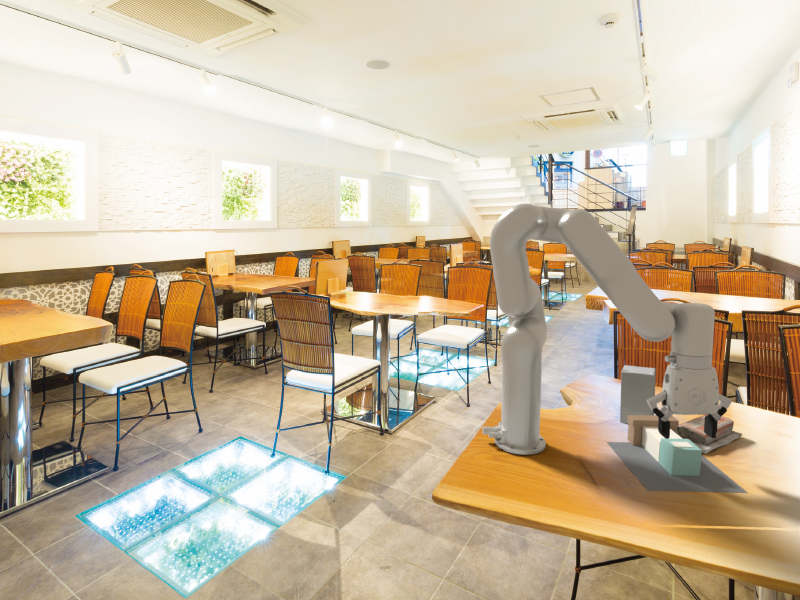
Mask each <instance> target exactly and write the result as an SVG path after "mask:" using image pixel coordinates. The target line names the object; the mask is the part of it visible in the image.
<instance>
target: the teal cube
mask: <svg viewBox="0 0 800 600" xmlns="http://www.w3.org/2000/svg"><path fill="white" fill-rule="evenodd" d="M702 455H703V454H702V450H701V449H700V448H699V447H698V446H696V445H695V444H694V443H693V442H691V441H690V440H689V439H665V438H661V445H660V457H659V463H660V464H661V465H662V466H663V467H664V468H665V469H666V470H667V471H668V472H669V473H670V474H671V475H686V476H700V466H701V456H702Z"/></svg>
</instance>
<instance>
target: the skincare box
mask: <svg viewBox="0 0 800 600" xmlns="http://www.w3.org/2000/svg"><path fill="white" fill-rule="evenodd" d="M623 365H624V366H623V368H622V370H620V371H621V372H620V407H619V409H620V411H619V412H620V413H619V423H622V424H627V425H629V422H628V421H627V416H628V415H655V414H654V413H653V412H652V411H651V408H650V407H649V405H648V403H647V399H649V398H651V397H653V396H655V395H656V379H657V377H656V368H655V367H647V366H646V367H643V366H635V365H627V364H623Z"/></svg>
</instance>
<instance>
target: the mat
mask: <svg viewBox="0 0 800 600" xmlns="http://www.w3.org/2000/svg"><path fill="white" fill-rule="evenodd" d="M606 443H607V445H609V447H610V448H611V449H612V450H613V452H614V453H615V454H616V455H617V457H618V458H620V460H621V461H622V462H623V464H624V465H625V466H626V467H627V468H628V470H629V471H630V472H631V473H632V475H634V476H635V479H637V480H638V481H639V482H640V484H641V485H642V486H643V487H644V489H645V490H646V491H649V492H685V493H687V492H688V493H689V492H690V493H691V492H693V493H728V494H729V493H731V494H734V493H736V494H737V493H738V494H741V493H742V494H748V491H747V490H745V488H743V487H742V486H740V485H739V484H738V483H737V482H736V481H734V480H733V479H732V478H731V477H730V476H728V475H727V474H726V473H725V472H723V470H721V469H720V468H718V466H717V465H715V464H714V463H712V462H711V461H710V460H709V459H707V458H706V457H705V456H704V455H703V454H702V456H701V466H700V476H686V475H671V474H670V473H669V472H668V471H667V470H666V469H665V468H664V467H663V466H662V465H661V464H660V463H659V462H658V461H657V460H656V459H655V458H654V457H653V456H652V455H651V454H650V453H649V452H648V451H647V450H646V449H645V448H644V447H643V446H642V445H641V444H640V445H632V444H631V443H630V442H629V441H624V442H623V441H606Z"/></svg>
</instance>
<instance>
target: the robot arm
mask: <svg viewBox="0 0 800 600" xmlns="http://www.w3.org/2000/svg"><path fill="white" fill-rule="evenodd" d="M530 240H533V241H540V242H541V241H542V242H549V243H558V244H564V246H565V247H566V248H567V249H568V251H570V253H571V254H572V255H573V256H574V258H575V259H577V261H578V263H580V265H581V266H582V267H583V268H584V270H585V271H586V273H588V275H589V276H590V277H591V279H592V280H593V281H594V282H595V284H596V285H597V286H598V287H599V289H600V290H601V291H602V292H603V293H604V294H605V296H607V297H608V298H609V300H610V301H611V303H612V304H613V306H614V307H615V308H616V309H617V310H618V312H619V313H620V314H621V316H622V317H623V318H624V319H625V320H626V321H627V323H628V324H629V325H630V327H631V328H632V329H633V330H634V331H635V333H637V335H638V336H639V337H641V338H642V339H644V340H645V341H648V342H654V343H656V342H657V343H658V342H663V341H665V340H667V339H669V338H670V337H671V343H670V344H671V345H670V351H669V355H665V356H664V361H665V362H666V363H669V364H667V366H666V368H665V373H664V377H663V380H662V381H663V382H662V389H661V392H659V393H657V394H655V396H653V397H651V398H649V399H647V403H648V405H649V407H650V408H651V411H652V412H653V413H654V415H656V416H658V417H659V418H658V431H659V433H660V434H661V435H662V436H663V437H664V438H666V439H669V438H670V421H668V419H669V418H670V417H671V416H673V415H677V416H678V415H679V416H680V415H681V416H685V415H686V416H687V415H688V416H689V415H690V416H692V415H693V416H695V415H696V416H698V415H699V416H703V415H705V414H708V415H706V416H705V421H704V433H706V434H707V435H708V436H710V437H711V438H716V433H717V424H718V421H719V420H720V419H721V416H724V415H725V414H726V413H727V412H728V409H729V407H730V406H731V404H732V402H733V401H732V399H731V398H729V397H726V396H724V395H723V394H720V386H719V379H718V374H717V368H715V366H712V365H713V347H714V346H713V345H714V332H715V331H714V330H715V317H716V315H715V309H714V308H713V306H711V305H709V304H706V303H698V302H683V303H674V302H668V301H667V302H666V301H661V300H660V298H659V297H658V296H657V294H656V293H654V291H653V290H652V289H651V288H650V286H649V285H648V284H647V282H645V281H644V278H643V277H642V276H641V275H640V274H639V272H638V270H637V269H636V267H635V265H634V264H633V262H632V261H631V260H630V258H629V257H628V255H627V254H626V253H625V252H624V251H623V250H622V248H621V247H620V246H619V245H618V244H617V242H616V241H615V240H614V239H613V238H612V237H611V235H610V234H609V233H608V232H607V231H606V230H605V228H604V227H603V226H602V225H601V223H600V222H599V221H598V220H597V219H596V217H595V216H594V215H592V213H591V212H589V211H588V210H586V209H581V208H576V209H569V208H568V209H567V208H566V209H565V208H557V207H549V206H548V207H547V206H540V205H535V204H532V203H520V204H516V205H514V206H512V207H511V208H509V209H507V210H506V211H505V212H504V213H503V214H502V215H501V216H500V217H499V218H498V219H497V220H496V221H495V224H494V225H493V228H492V230H491V232H490V238H489V253H490V256H491V257H490V259H491V265H492V271H493V278H494V284H495V291H496V298H497V304H498V306H499V307H498V308H499V309H500V311H501V312H502V313H503V314H504V315H505V316H507V320H508V327H507V328H506V330H505V331H504V333H503V335H502V339H501V342H500V343H501V344H500V352H501V414H500V417H501V418H500V420H501V421H498V422H497V423H498V425H494V426H482V431H481V432H482V435H487V436H488V439H489V438H493V439H494V443H495V445H496V446H497V447H498V448H499V449H500V450H502V449H503V450H502V451H504V452H507V453H511V454H514V455H522V456H524V455H525V456H526V455H527V456H529V455H536V454H540V453H541V452H543V451H544V450H545V449H546V445H547V443H546V439H545V438H544V437H542V435H541V434H540V431H541V430H540V428H541V427H540V426H541V407H542V404H541V403H542V401H541V400H542V378H543V377H542V373H543V372H542V371H543V369H542V368H543V367H542V365H543V364H542V361H543V360H542V359H543V357H542V356H543V354H542V353H543V347H544V346H545V344H546V341H547V337H548V329H547V323H546V322H547V321H546V316H545V310H544V304H543V299H542V293H541V289H540V287H539V284H538V283H537V282H536V280H534V278H531V273H530V266H529V259H528V255H527V249H526V247H527V242H528V241H530ZM659 403H661V407H660V408H659V407H658V404H659Z"/></svg>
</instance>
